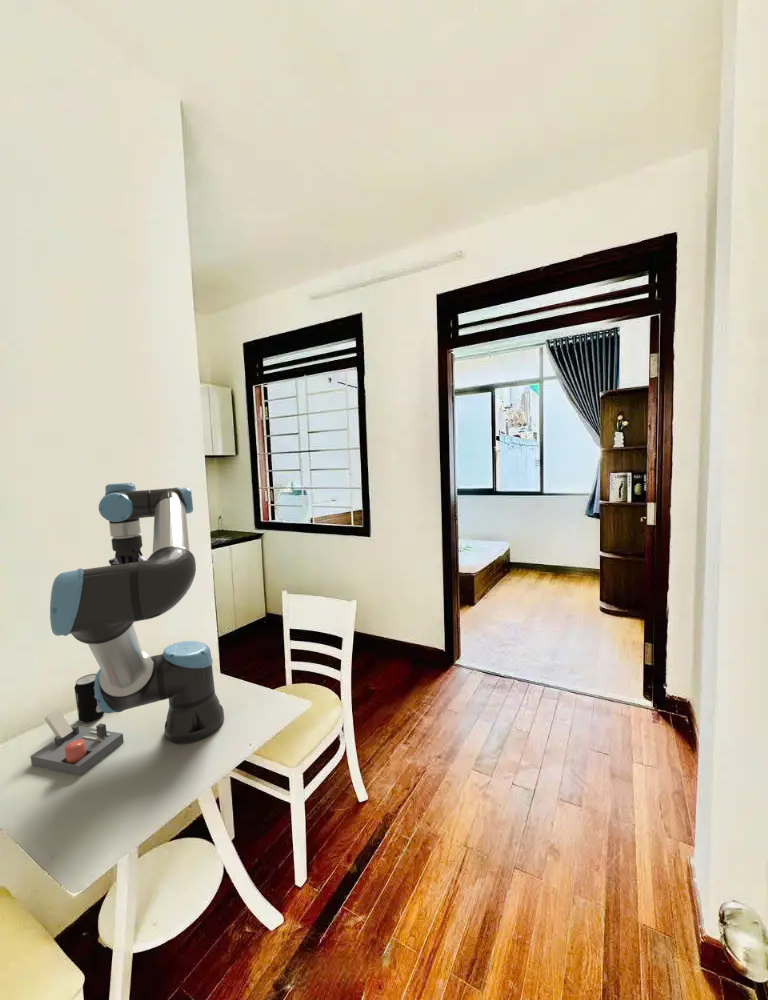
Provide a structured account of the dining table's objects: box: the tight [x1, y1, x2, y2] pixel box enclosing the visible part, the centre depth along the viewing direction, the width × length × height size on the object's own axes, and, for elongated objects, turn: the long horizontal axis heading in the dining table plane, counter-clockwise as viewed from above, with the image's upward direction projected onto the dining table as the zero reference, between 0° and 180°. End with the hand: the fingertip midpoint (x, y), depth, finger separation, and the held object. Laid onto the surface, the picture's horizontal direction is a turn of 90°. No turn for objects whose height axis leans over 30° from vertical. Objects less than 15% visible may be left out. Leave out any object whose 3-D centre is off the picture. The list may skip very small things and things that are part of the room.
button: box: [65, 739, 87, 764], centre depth 103 cm, size 4×4×5 cm
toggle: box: [44, 709, 73, 742], centre depth 110 cm, size 1×3×8 cm
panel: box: [29, 725, 125, 777], centre depth 107 cm, size 16×12×4 cm
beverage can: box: [74, 673, 105, 724], centre depth 123 cm, size 7×7×12 cm
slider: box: [95, 723, 108, 738], centre depth 109 cm, size 2×1×3 cm, turn 74°
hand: (135, 613), depth 124 cm, fingers closed
